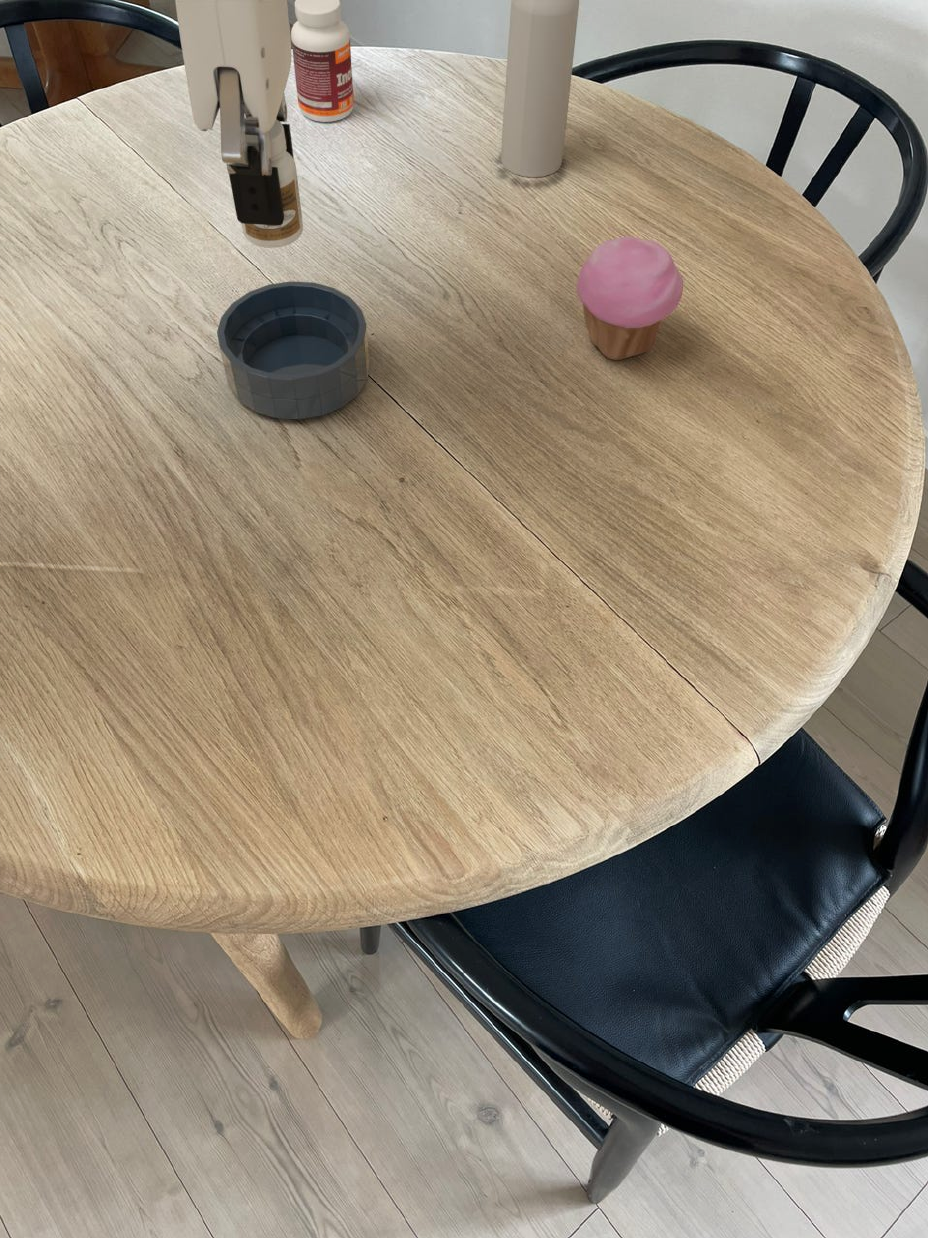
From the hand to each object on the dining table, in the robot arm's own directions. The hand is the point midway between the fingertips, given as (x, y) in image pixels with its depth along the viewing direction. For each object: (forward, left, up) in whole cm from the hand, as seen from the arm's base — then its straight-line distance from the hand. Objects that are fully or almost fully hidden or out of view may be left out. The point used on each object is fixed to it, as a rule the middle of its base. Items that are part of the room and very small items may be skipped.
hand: (267, 197), depth 69 cm
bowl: (0, +2, -18) cm, 18 cm away
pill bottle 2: (-3, +45, -18) cm, 48 cm away
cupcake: (+28, +8, -18) cm, 34 cm away
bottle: (+20, +37, -18) cm, 46 cm away
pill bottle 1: (0, 0, -3) cm, 3 cm away
